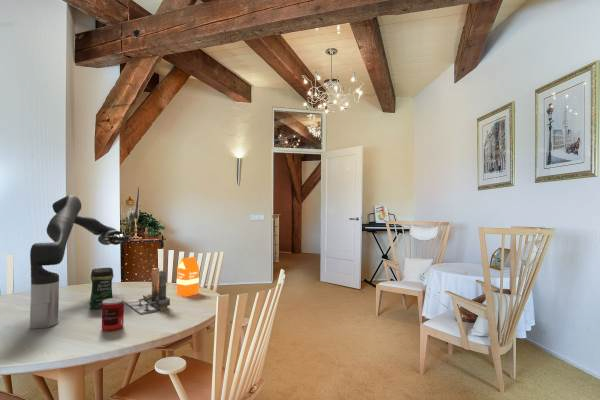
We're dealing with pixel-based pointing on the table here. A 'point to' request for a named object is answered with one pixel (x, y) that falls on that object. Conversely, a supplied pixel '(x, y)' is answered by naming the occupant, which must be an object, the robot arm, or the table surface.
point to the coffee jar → (101, 286)
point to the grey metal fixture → (158, 303)
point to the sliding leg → (153, 286)
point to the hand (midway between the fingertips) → (122, 239)
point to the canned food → (112, 314)
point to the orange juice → (187, 277)
